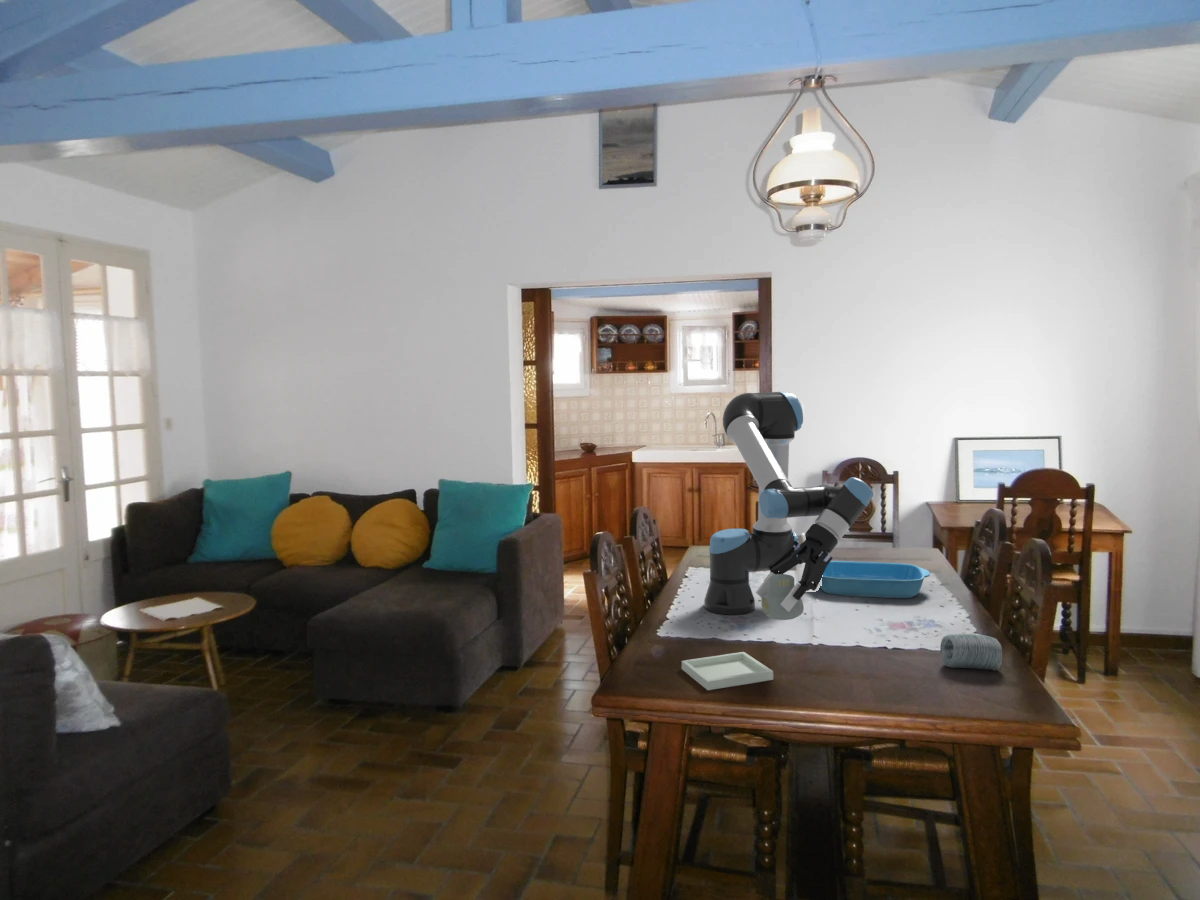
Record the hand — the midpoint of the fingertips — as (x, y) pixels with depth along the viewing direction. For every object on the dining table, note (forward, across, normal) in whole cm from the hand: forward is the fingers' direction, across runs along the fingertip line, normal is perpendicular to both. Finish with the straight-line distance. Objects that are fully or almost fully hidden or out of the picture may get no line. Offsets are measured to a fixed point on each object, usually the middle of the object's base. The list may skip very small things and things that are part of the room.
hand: (771, 601), depth 200 cm
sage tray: (+21, -1, -2) cm, 21 cm away
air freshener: (+1, 0, -5) cm, 5 cm away
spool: (-18, -20, -42) cm, 50 cm away
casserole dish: (-33, +45, -57) cm, 80 cm away
